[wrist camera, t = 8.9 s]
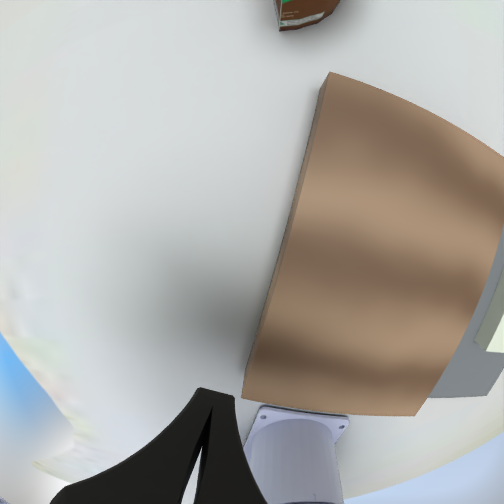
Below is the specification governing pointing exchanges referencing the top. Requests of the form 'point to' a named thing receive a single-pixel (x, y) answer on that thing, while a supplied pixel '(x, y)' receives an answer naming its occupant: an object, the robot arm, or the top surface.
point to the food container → (302, 12)
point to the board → (376, 257)
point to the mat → (474, 348)
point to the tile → (493, 322)
